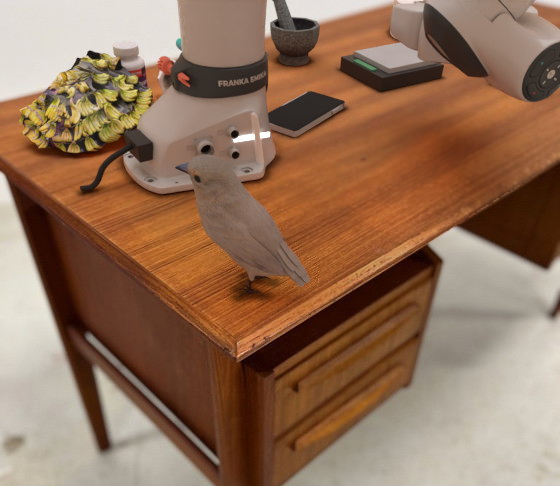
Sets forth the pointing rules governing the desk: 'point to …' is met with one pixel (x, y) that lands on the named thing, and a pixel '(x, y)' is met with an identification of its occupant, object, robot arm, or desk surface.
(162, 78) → the long cone
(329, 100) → the smartphone
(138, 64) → the pill bottle
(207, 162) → the bird
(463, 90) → the desk surface
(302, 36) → the mortar and pestle
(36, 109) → the banana patterned fabric
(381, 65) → the scale
